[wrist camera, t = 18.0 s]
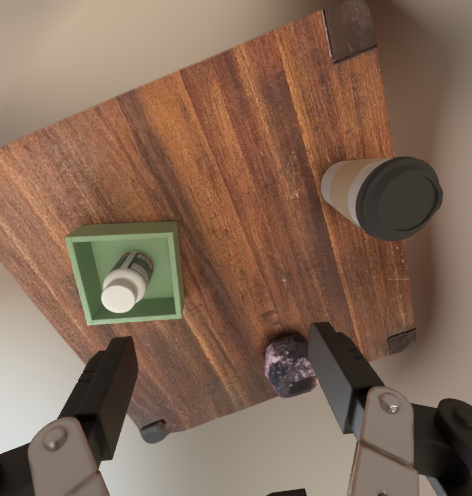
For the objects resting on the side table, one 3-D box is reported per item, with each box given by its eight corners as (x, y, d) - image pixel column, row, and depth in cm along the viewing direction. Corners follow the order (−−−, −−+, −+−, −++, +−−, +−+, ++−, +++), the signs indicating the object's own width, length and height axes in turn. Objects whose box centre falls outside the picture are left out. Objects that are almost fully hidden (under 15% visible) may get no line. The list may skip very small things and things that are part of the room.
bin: (101, 303, 44) (87, 325, 39) (83, 224, 39) (64, 236, 34) (184, 298, 45) (181, 318, 40) (177, 220, 40) (172, 232, 35)
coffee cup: (317, 219, 43) (370, 256, 29) (309, 161, 39) (365, 171, 25) (372, 204, 43) (452, 234, 29) (368, 145, 39) (457, 146, 25)
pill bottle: (123, 282, 42) (100, 320, 33) (115, 251, 40) (89, 282, 31) (157, 278, 43) (144, 315, 34) (151, 247, 41) (135, 277, 32)
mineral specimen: (299, 383, 53) (297, 423, 43) (257, 349, 54) (246, 381, 44) (331, 349, 50) (337, 384, 40) (286, 315, 51) (281, 340, 42)
